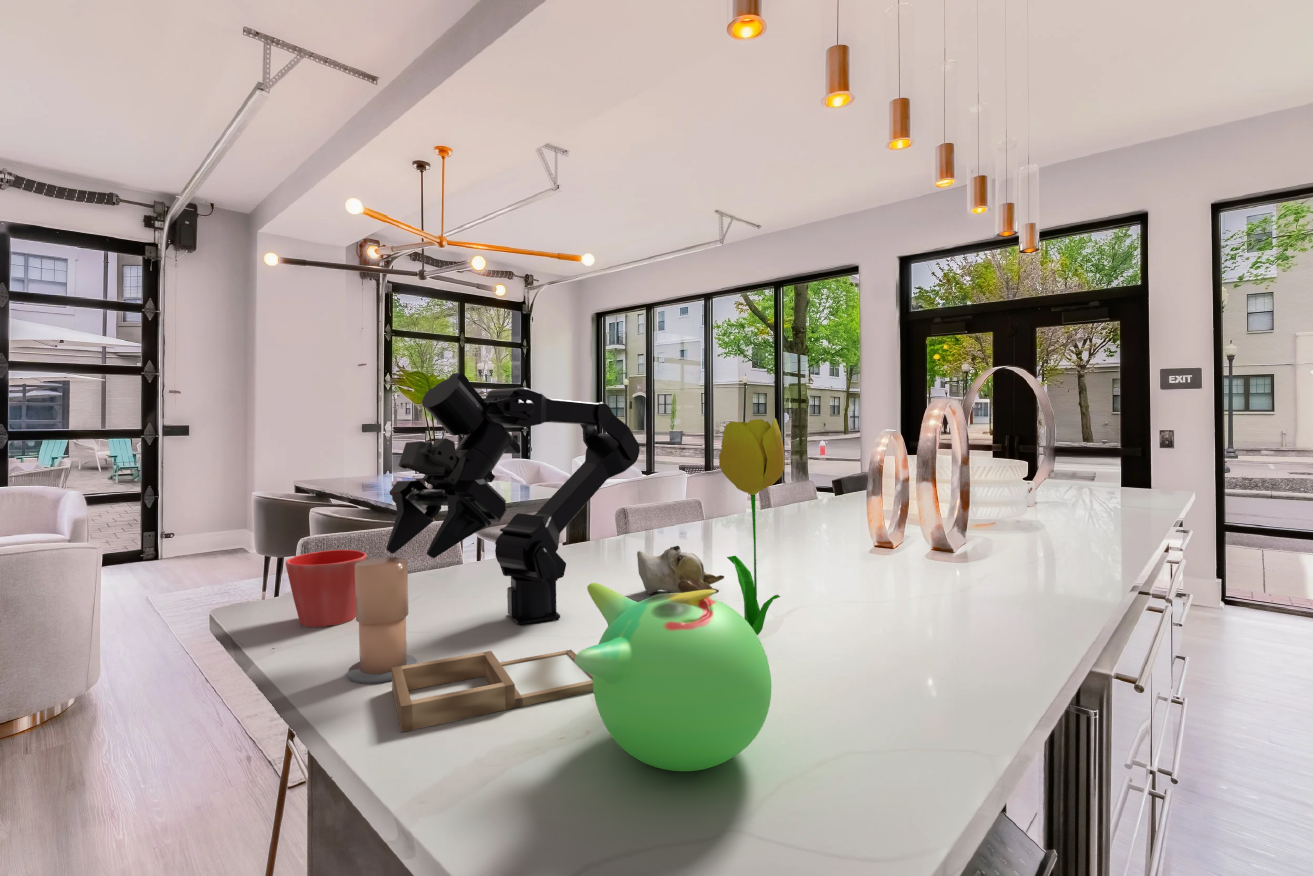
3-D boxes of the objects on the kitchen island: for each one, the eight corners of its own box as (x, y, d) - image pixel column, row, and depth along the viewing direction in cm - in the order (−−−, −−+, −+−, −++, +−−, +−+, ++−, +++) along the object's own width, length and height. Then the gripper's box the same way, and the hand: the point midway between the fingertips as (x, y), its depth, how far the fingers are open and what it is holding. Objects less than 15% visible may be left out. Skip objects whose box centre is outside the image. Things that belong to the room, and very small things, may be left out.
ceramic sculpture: (644, 536, 116) (726, 543, 113) (642, 583, 116) (723, 591, 113) (630, 548, 105) (720, 557, 102) (628, 599, 106) (717, 609, 103)
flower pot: (336, 633, 90) (334, 565, 90) (270, 629, 93) (268, 562, 92) (382, 611, 101) (381, 550, 101) (322, 608, 103) (320, 548, 103)
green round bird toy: (797, 806, 49) (796, 616, 48) (575, 819, 47) (573, 624, 47) (745, 703, 66) (744, 564, 66) (584, 710, 65) (582, 568, 65)
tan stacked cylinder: (416, 656, 79) (414, 557, 79) (397, 675, 73) (395, 567, 73) (370, 657, 79) (368, 557, 79) (347, 675, 73) (345, 568, 73)
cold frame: (571, 656, 80) (570, 637, 80) (604, 688, 70) (603, 666, 70) (392, 689, 71) (391, 667, 71) (401, 732, 61) (401, 706, 61)
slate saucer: (413, 655, 81) (413, 650, 81) (420, 675, 75) (420, 670, 75) (347, 665, 78) (347, 661, 78) (348, 688, 71) (348, 683, 71)
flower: (792, 636, 87) (791, 417, 86) (778, 656, 80) (776, 417, 79) (732, 628, 91) (730, 418, 90) (713, 646, 83) (711, 418, 83)
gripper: (396, 423, 89) (323, 514, 80) (479, 413, 77) (403, 518, 69) (450, 473, 95) (387, 562, 87) (533, 471, 84) (470, 573, 75)
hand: (408, 553), depth 79 cm, fingers open, 9 cm apart
